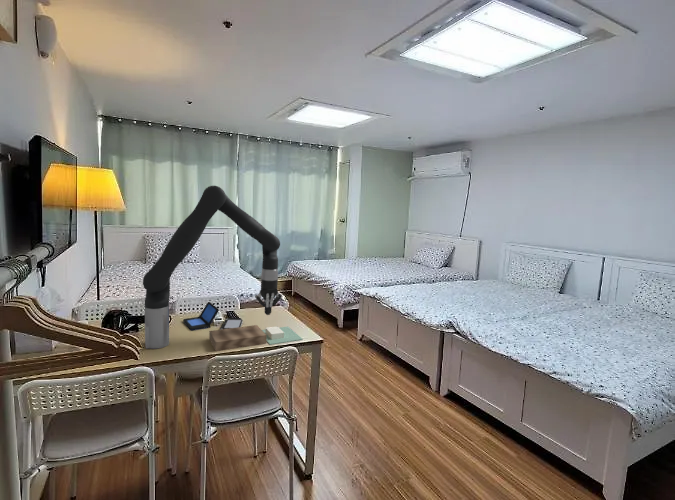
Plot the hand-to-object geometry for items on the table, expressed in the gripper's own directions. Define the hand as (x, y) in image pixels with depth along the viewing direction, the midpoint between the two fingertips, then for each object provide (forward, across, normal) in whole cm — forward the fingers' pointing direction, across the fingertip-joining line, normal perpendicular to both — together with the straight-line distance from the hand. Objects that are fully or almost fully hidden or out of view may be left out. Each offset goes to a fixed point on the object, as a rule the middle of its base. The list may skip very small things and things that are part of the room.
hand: (267, 314), depth 171 cm
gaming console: (+12, -11, +19) cm, 25 cm away
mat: (+11, +6, 0) cm, 13 cm away
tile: (+9, +4, 0) cm, 10 cm away
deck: (+11, -14, 0) cm, 18 cm away
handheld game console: (+12, -25, +29) cm, 40 cm away
